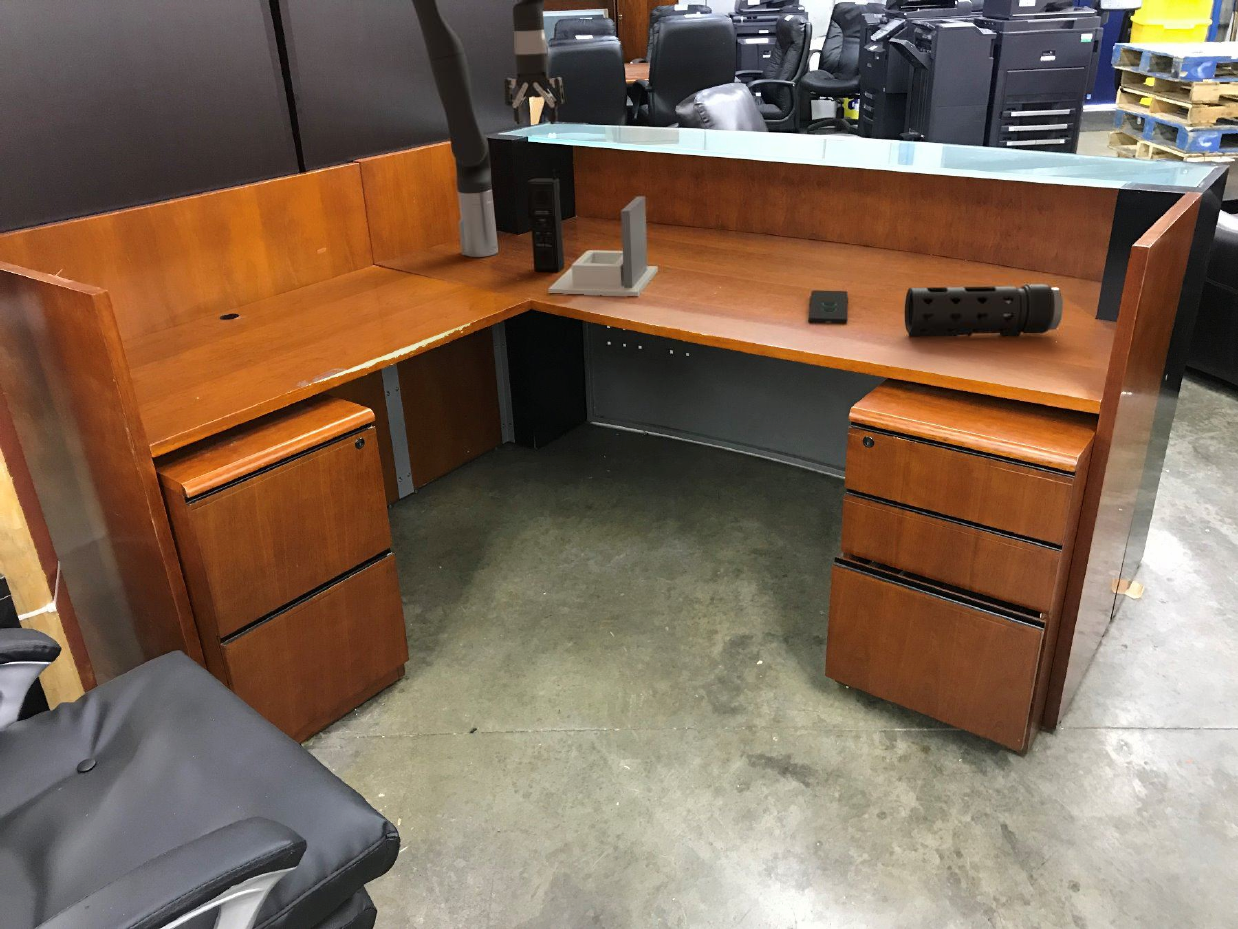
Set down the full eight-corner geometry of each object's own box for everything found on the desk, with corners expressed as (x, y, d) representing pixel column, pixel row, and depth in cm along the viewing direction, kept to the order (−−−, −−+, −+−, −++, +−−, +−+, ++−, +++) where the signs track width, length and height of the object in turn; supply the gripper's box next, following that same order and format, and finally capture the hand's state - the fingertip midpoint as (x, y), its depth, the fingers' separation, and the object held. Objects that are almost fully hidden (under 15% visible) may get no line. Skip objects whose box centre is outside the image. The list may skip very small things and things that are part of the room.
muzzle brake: (902, 329, 197) (906, 280, 192) (1043, 328, 194) (1052, 277, 189) (910, 345, 188) (915, 294, 184) (1058, 344, 185) (1067, 292, 181)
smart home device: (807, 317, 202) (811, 289, 219) (807, 325, 203) (810, 296, 220) (848, 318, 200) (848, 290, 217) (847, 326, 201) (847, 297, 218)
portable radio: (529, 271, 248) (521, 172, 236) (538, 265, 253) (530, 167, 241) (558, 272, 245) (550, 172, 234) (566, 266, 250) (559, 168, 239)
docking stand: (548, 293, 229) (542, 212, 221) (574, 268, 248) (569, 193, 239) (637, 296, 224) (635, 213, 215) (657, 270, 243) (655, 193, 234)
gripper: (496, 53, 224) (503, 126, 231) (554, 51, 220) (559, 125, 228) (507, 50, 230) (514, 121, 238) (564, 49, 227) (568, 121, 234)
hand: (536, 123), depth 233 cm, fingers open, 8 cm apart
